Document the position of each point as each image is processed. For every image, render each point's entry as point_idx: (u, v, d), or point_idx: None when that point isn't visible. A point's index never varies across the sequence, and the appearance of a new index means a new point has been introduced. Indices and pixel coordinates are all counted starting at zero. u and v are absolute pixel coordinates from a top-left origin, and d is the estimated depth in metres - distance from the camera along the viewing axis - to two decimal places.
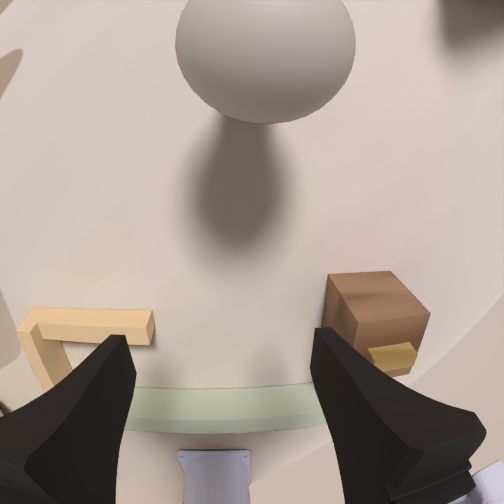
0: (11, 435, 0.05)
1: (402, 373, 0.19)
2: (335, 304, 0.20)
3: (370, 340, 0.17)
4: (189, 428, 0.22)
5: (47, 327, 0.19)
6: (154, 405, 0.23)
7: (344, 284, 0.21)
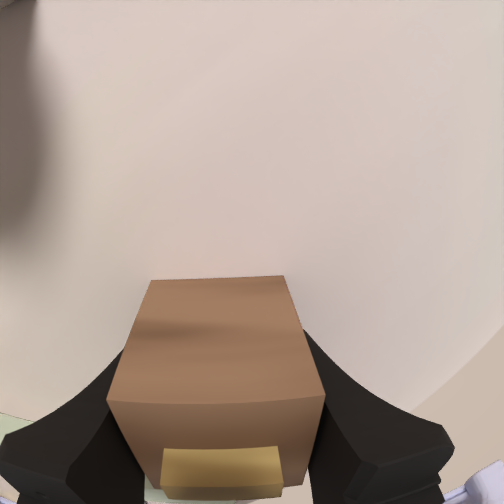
0: (44, 444, 0.05)
1: (284, 485, 0.08)
2: None
3: (161, 436, 0.07)
4: None
5: None
6: None
7: (160, 302, 0.10)
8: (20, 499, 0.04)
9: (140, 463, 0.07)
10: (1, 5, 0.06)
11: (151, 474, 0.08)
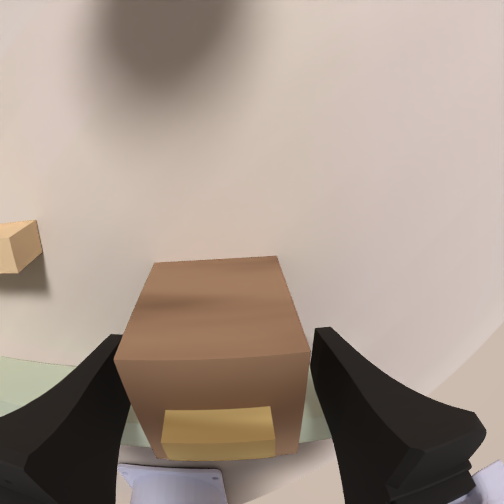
0: (11, 435, 0.05)
1: (280, 452, 0.09)
2: None
3: (163, 396, 0.08)
4: None
5: None
6: None
7: (163, 280, 0.11)
8: None
9: (143, 429, 0.09)
10: None
11: (153, 441, 0.09)
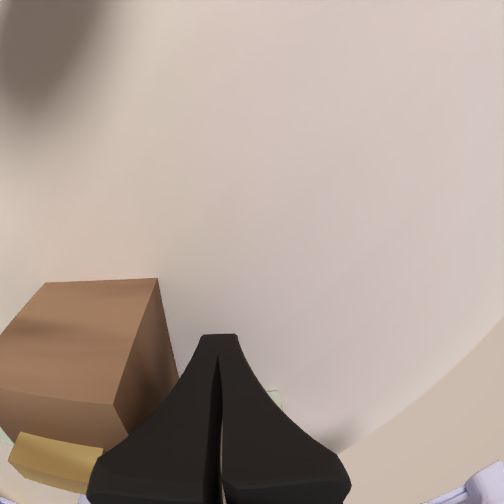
0: (155, 463, 0.05)
1: None
2: None
3: (12, 419, 0.06)
4: None
5: None
6: None
7: (40, 302, 0.10)
8: None
9: None
10: None
11: None
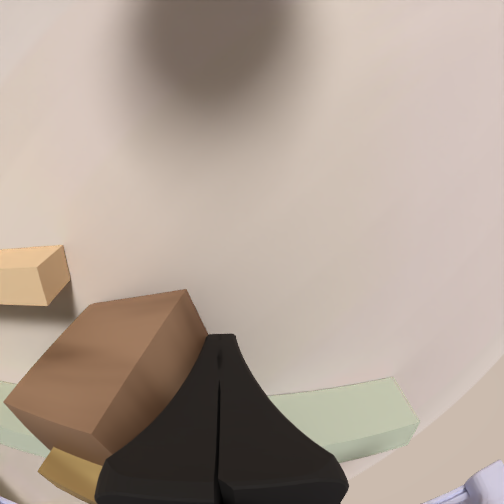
0: (164, 463, 0.05)
1: None
2: None
3: (42, 436, 0.07)
4: None
5: None
6: None
7: (78, 326, 0.11)
8: None
9: None
10: None
11: None
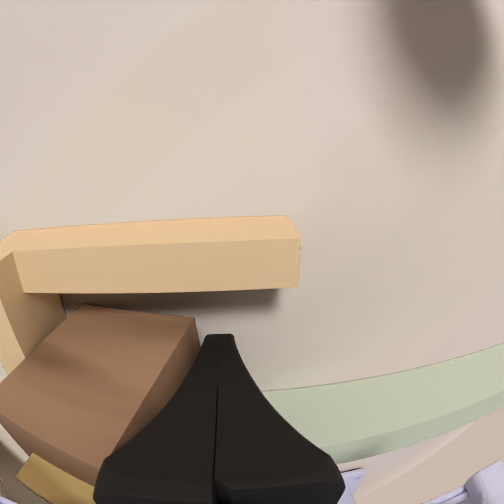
0: (163, 464, 0.05)
1: None
2: None
3: (24, 442, 0.06)
4: None
5: (34, 261, 0.08)
6: None
7: (69, 329, 0.10)
8: None
9: None
10: None
11: None
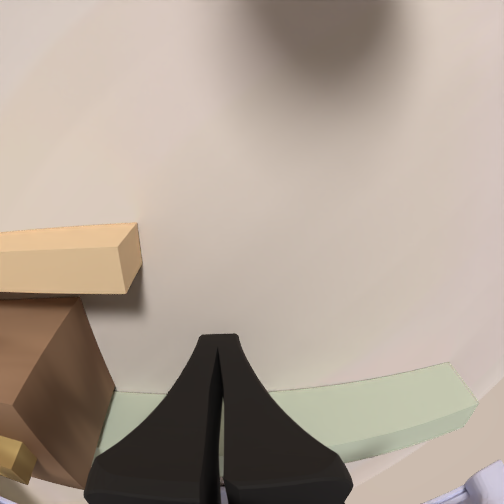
0: (153, 463, 0.05)
1: (69, 485, 0.08)
2: None
3: None
4: None
5: None
6: None
7: None
8: None
9: None
10: None
11: None
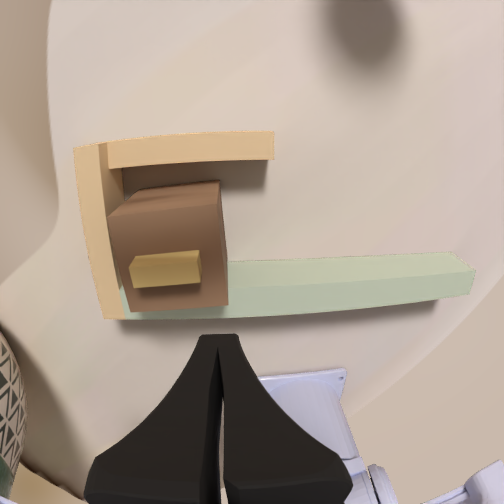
0: (153, 462, 0.05)
1: (215, 303, 0.15)
2: None
3: (134, 243, 0.14)
4: (306, 301, 0.18)
5: (122, 147, 0.15)
6: (255, 274, 0.19)
7: (143, 193, 0.17)
8: None
9: (122, 280, 0.14)
10: None
11: (128, 291, 0.15)
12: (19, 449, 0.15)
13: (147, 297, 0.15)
